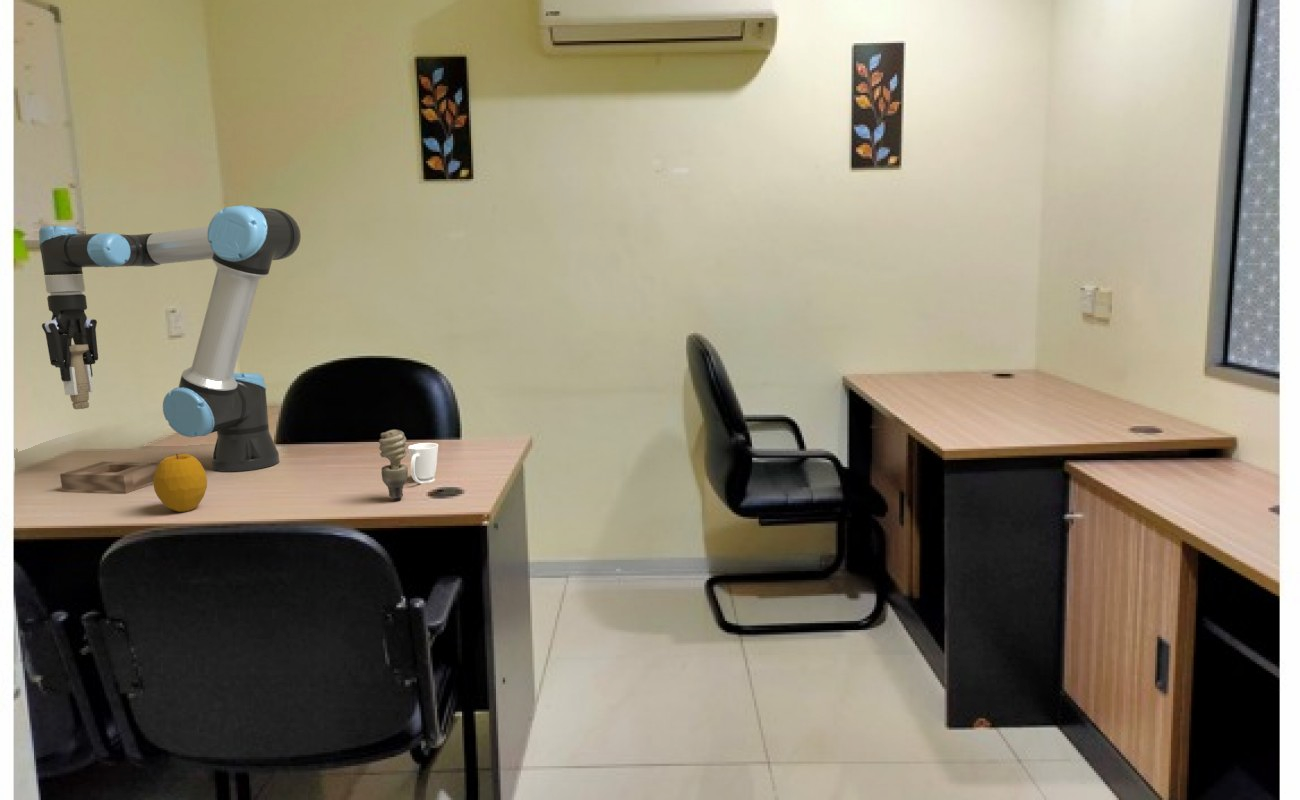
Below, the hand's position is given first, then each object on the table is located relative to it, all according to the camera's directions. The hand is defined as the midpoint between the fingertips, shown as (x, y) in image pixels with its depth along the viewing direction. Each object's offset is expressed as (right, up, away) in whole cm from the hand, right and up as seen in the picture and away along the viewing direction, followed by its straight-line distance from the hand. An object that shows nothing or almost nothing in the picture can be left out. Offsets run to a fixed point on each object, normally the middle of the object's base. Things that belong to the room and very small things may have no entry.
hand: (79, 393), depth 206 cm
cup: (+84, -20, -10) cm, 87 cm away
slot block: (+13, -21, -8) cm, 26 cm away
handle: (0, -4, +1) cm, 4 cm away
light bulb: (+82, -23, -25) cm, 89 cm away
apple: (+40, -24, -29) cm, 55 cm away
